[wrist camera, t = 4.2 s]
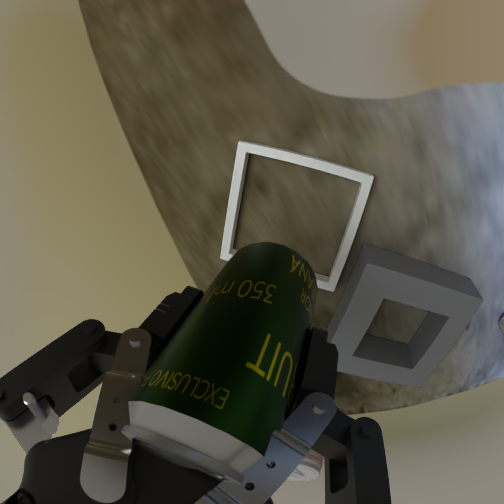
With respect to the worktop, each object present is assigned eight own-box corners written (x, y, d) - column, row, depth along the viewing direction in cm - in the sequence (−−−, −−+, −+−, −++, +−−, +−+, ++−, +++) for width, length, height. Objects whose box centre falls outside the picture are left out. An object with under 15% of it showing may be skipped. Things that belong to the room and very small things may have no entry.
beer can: (250, 321, 19) (168, 487, 8) (214, 250, 17) (76, 411, 7) (330, 306, 17) (290, 512, 6) (300, 224, 15) (205, 445, 5)
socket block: (469, 278, 23) (483, 299, 20) (415, 363, 30) (419, 387, 26) (363, 242, 25) (367, 262, 22) (321, 341, 32) (317, 366, 28)
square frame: (372, 174, 22) (374, 176, 21) (333, 285, 28) (333, 291, 27) (242, 140, 24) (238, 141, 23) (224, 253, 30) (220, 258, 29)
